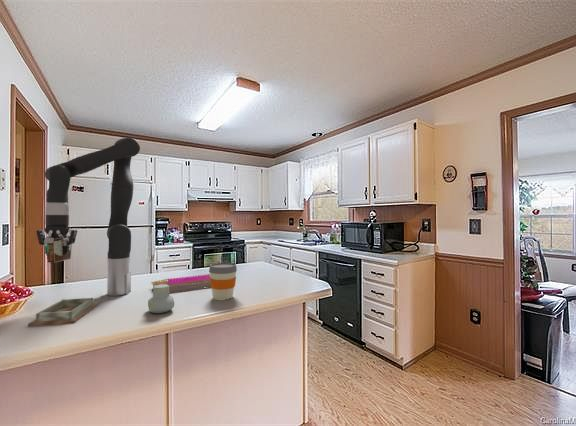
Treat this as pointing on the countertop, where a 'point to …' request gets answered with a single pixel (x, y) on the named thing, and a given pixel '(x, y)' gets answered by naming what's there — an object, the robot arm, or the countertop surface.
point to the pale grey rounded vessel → (160, 299)
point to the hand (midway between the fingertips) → (57, 254)
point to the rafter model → (173, 282)
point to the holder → (64, 312)
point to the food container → (56, 250)
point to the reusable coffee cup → (222, 280)
